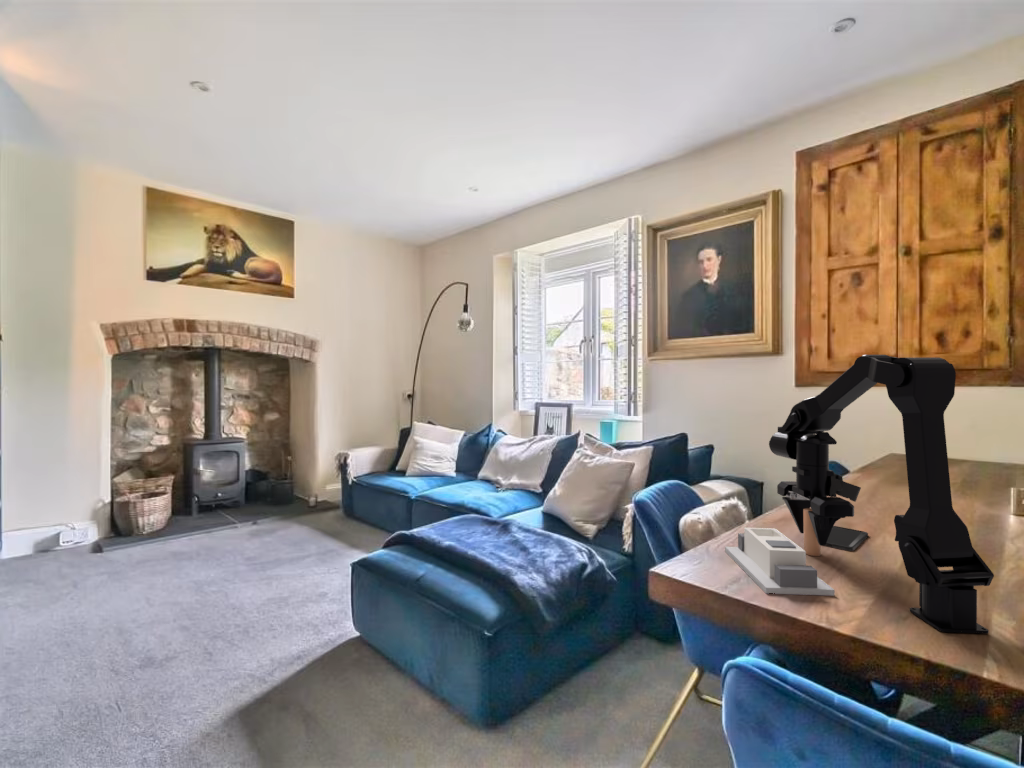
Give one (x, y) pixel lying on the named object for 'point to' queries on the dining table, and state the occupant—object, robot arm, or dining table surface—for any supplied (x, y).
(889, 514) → the dining table surface
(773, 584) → the board
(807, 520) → the orange-brown tapered capsule
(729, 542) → the dining table surface
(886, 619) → the dining table surface
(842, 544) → the phone
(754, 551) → the white socket block
